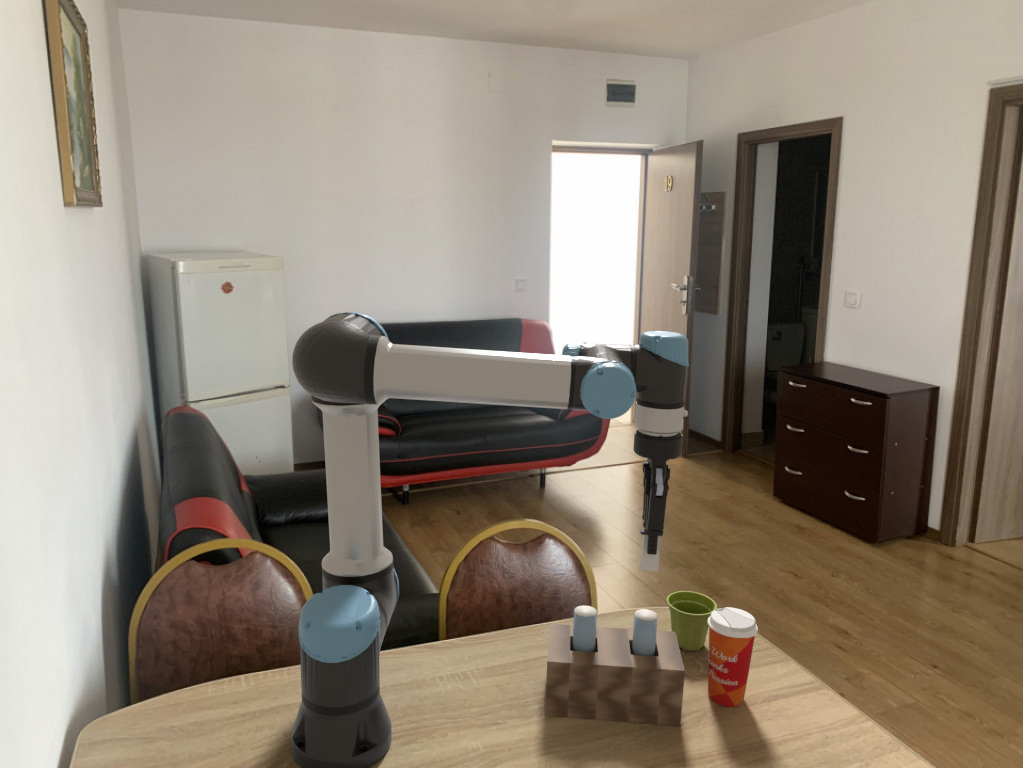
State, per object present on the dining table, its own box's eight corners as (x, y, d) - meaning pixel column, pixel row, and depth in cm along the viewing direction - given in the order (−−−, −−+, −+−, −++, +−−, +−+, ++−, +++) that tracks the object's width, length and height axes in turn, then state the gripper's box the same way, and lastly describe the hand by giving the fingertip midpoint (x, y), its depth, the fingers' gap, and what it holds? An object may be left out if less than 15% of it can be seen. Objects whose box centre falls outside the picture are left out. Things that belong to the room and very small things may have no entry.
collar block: (544, 716, 127) (547, 661, 125) (547, 674, 139) (549, 623, 137) (680, 726, 126) (684, 670, 124) (671, 683, 138) (675, 631, 135)
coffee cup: (691, 689, 136) (698, 611, 133) (727, 678, 139) (734, 601, 136) (724, 717, 128) (732, 634, 125) (761, 704, 132) (770, 623, 129)
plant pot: (704, 630, 156) (707, 590, 154) (719, 656, 147) (723, 614, 145) (658, 630, 155) (661, 590, 153) (671, 656, 146) (674, 614, 144)
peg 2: (631, 674, 129) (635, 619, 127) (630, 662, 133) (633, 608, 131) (654, 676, 129) (658, 621, 127) (652, 663, 133) (656, 609, 130)
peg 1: (571, 670, 130) (574, 615, 128) (571, 658, 134) (574, 604, 131) (594, 672, 130) (597, 617, 127) (593, 659, 133) (596, 606, 131)
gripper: (688, 442, 115) (677, 589, 120) (677, 420, 128) (667, 553, 133) (638, 440, 116) (629, 586, 121) (631, 418, 129) (623, 551, 134)
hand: (649, 568), depth 127 cm, fingers closed
